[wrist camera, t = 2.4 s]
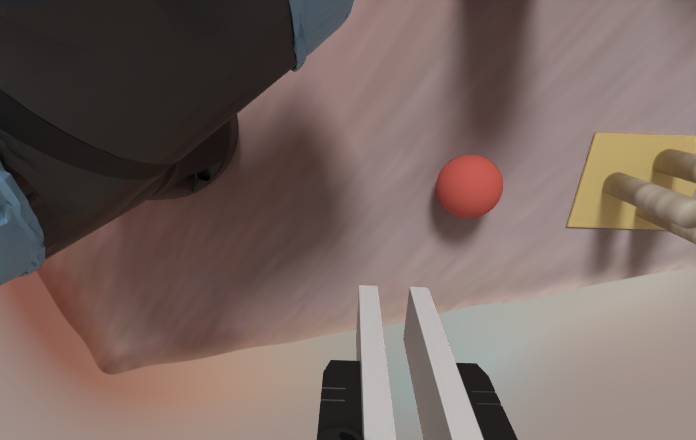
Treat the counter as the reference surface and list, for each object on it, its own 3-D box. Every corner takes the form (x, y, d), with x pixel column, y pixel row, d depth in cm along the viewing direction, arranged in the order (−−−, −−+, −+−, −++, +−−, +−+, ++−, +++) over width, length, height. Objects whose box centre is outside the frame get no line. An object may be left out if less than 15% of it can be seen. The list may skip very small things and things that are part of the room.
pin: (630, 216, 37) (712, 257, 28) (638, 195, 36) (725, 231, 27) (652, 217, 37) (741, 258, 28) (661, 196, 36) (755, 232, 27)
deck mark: (566, 226, 37) (567, 226, 37) (594, 132, 33) (595, 133, 33) (675, 229, 37) (677, 230, 37) (716, 136, 33) (718, 136, 33)
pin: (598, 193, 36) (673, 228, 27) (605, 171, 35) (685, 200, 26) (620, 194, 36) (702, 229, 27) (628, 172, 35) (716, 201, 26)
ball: (426, 204, 36) (440, 226, 31) (434, 148, 34) (450, 161, 28) (482, 206, 36) (506, 229, 31) (493, 149, 34) (521, 163, 28)
